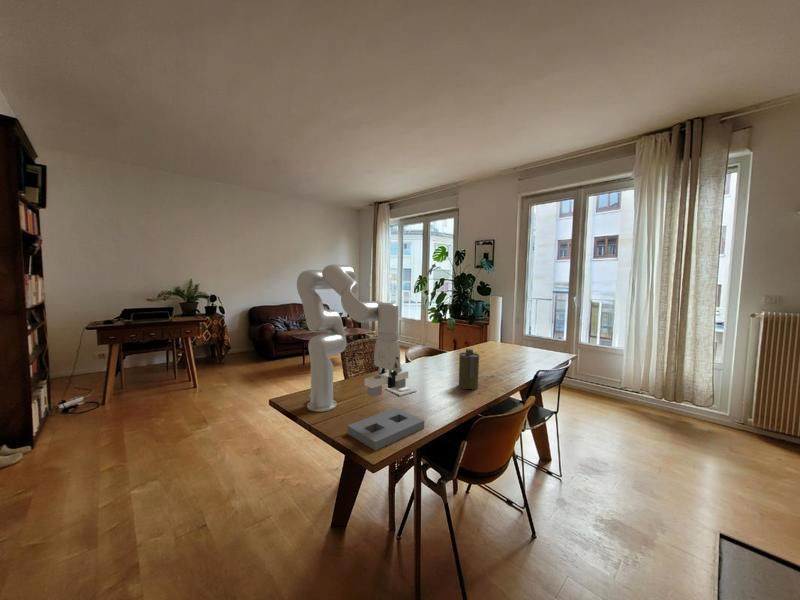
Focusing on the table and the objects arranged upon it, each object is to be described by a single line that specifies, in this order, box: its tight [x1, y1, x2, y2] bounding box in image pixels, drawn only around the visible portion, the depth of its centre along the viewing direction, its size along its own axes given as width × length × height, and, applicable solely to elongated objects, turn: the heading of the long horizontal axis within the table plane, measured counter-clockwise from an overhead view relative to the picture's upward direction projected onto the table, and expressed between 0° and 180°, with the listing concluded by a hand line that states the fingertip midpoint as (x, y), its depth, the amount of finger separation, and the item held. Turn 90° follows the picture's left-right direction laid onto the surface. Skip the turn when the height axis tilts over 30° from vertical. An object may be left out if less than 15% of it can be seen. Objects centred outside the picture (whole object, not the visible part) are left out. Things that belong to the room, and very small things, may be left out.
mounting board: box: [346, 407, 425, 451], centre depth 120 cm, size 16×24×3 cm, turn 134°
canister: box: [458, 348, 480, 391], centre depth 170 cm, size 11×10×20 cm
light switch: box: [385, 385, 418, 397], centre depth 164 cm, size 11×4×13 cm
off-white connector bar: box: [364, 369, 409, 398], centre depth 119 cm, size 4×18×6 cm, turn 134°
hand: (387, 385), depth 119 cm, fingers closed on off-white connector bar, 4 cm apart
